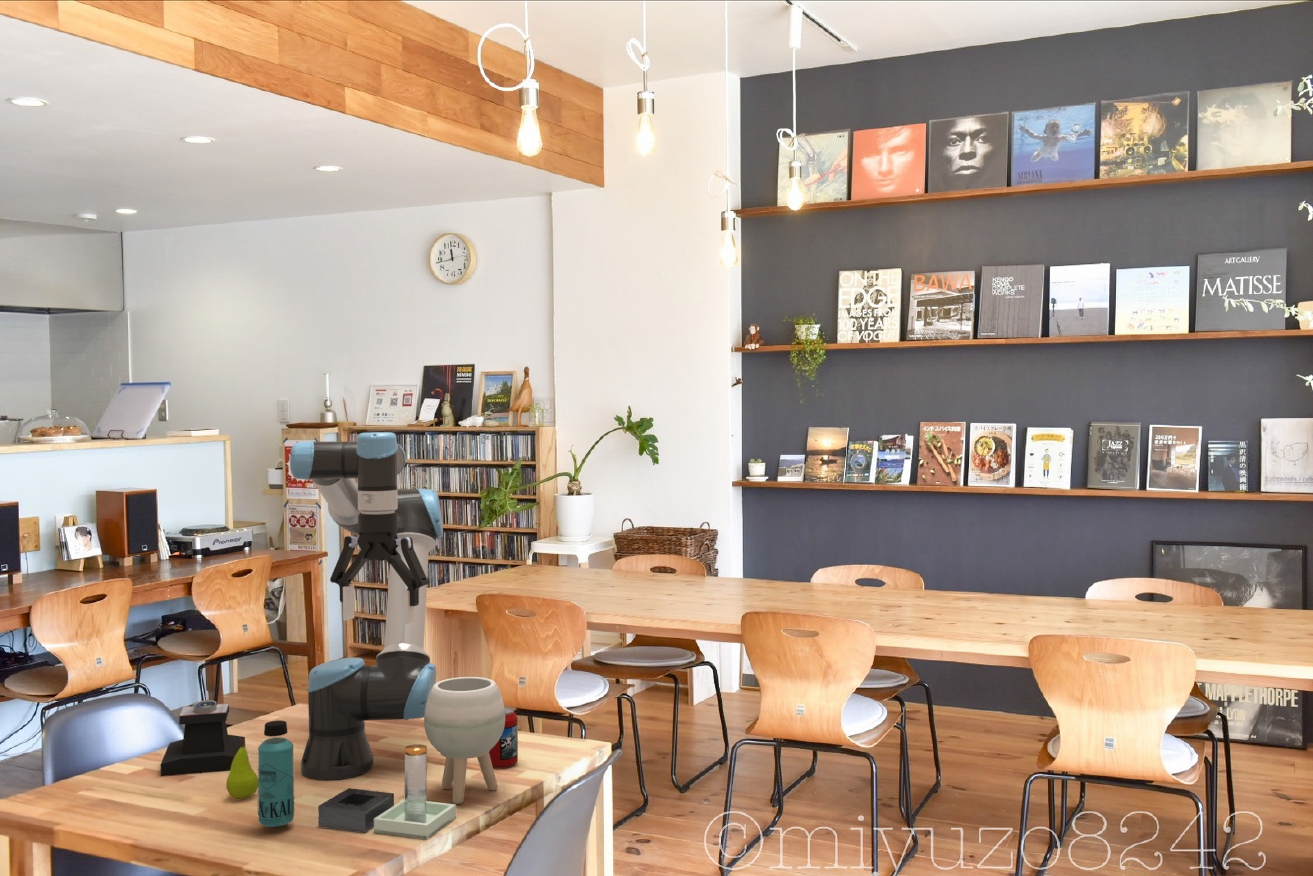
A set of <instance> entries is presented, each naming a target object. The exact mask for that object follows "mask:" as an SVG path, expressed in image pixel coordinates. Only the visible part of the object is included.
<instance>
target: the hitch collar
mask: <svg viewBox="0 0 1313 876" xmlns="http://www.w3.org/2000/svg"><path fill="white" fill-rule="evenodd" d="M394 805H395V793H394V792H386V791H376V790H369V789H359V788H351V787H348V788H347V789H345V790H343V791H342V792H339V793H337V794H336V795H335V796H333V797H331V798H329V799H328V800H326V801H324V802H322V803H321V804H319V805H318V827H319V828H324V829H325V828H326V829H332V830H341V831H347V832H357V833H364V834H366V833H368V832H369V831H371V830H372V829H374V818H376V817H377V816H379V815H381V814H382V813H384V812H385V811H387V810H388V809H390V808H391V807H393V806H394Z"/></svg>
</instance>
